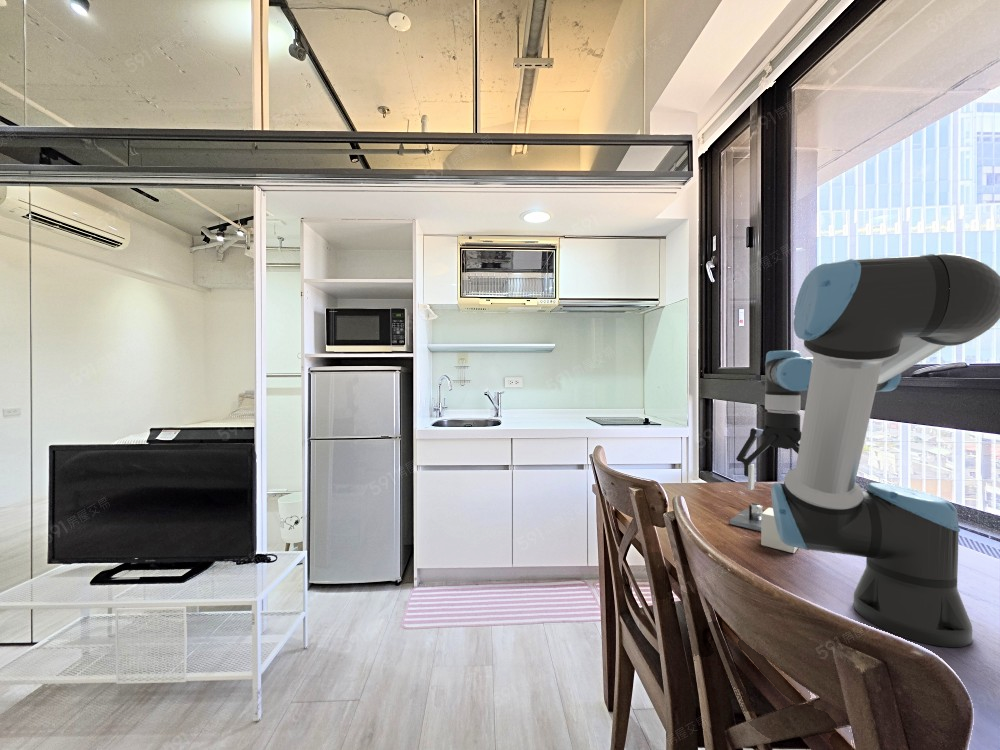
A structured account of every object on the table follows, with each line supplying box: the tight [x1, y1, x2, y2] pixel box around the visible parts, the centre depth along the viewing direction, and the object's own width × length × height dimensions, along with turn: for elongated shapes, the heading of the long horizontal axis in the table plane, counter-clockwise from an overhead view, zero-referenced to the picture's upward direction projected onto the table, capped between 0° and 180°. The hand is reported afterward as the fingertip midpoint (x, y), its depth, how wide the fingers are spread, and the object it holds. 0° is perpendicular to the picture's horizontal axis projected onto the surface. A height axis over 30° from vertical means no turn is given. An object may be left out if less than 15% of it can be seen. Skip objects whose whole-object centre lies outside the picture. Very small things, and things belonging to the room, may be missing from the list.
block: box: [760, 507, 799, 554], centre depth 108 cm, size 8×7×9 cm
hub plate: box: [729, 502, 763, 532], centre depth 123 cm, size 14×14×5 cm
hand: (781, 494), depth 108 cm, fingers open, 13 cm apart
